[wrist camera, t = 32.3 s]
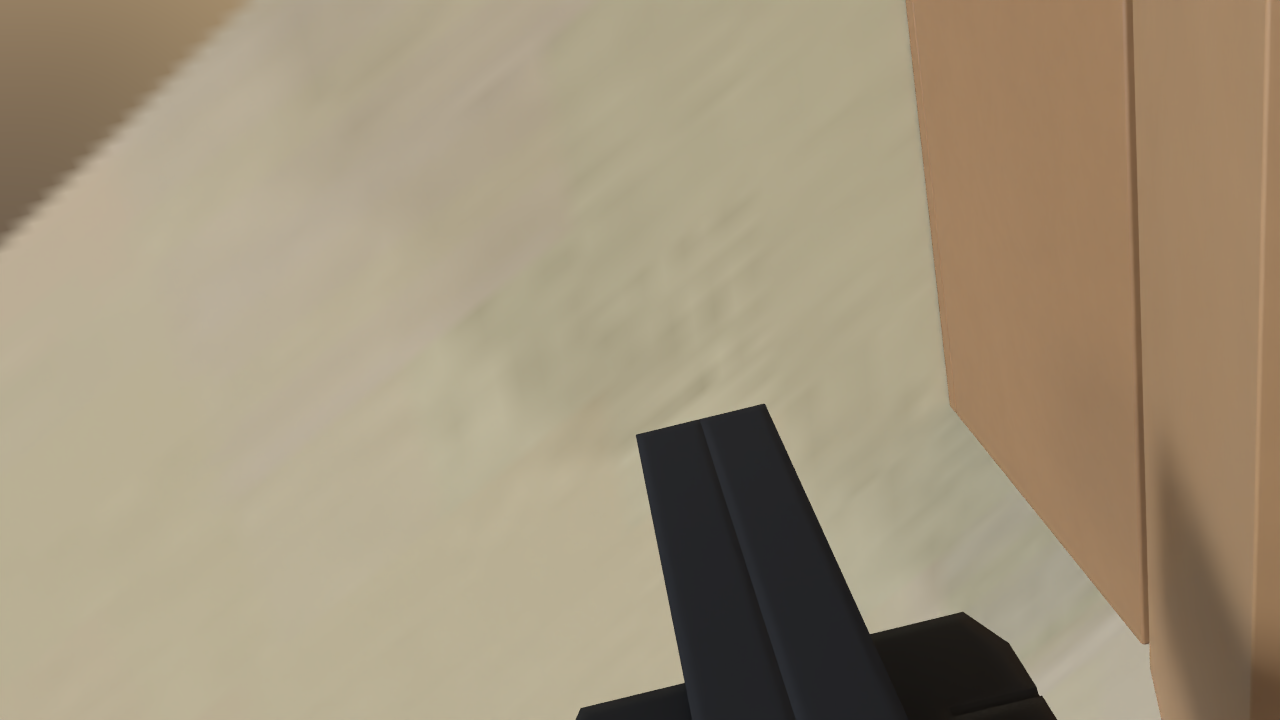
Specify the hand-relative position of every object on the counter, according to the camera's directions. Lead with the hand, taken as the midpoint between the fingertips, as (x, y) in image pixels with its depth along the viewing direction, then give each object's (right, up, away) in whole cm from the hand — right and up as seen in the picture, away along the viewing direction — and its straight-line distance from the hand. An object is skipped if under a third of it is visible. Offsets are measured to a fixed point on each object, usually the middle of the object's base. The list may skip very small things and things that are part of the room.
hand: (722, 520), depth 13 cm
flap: (+6, +1, 0) cm, 6 cm away
